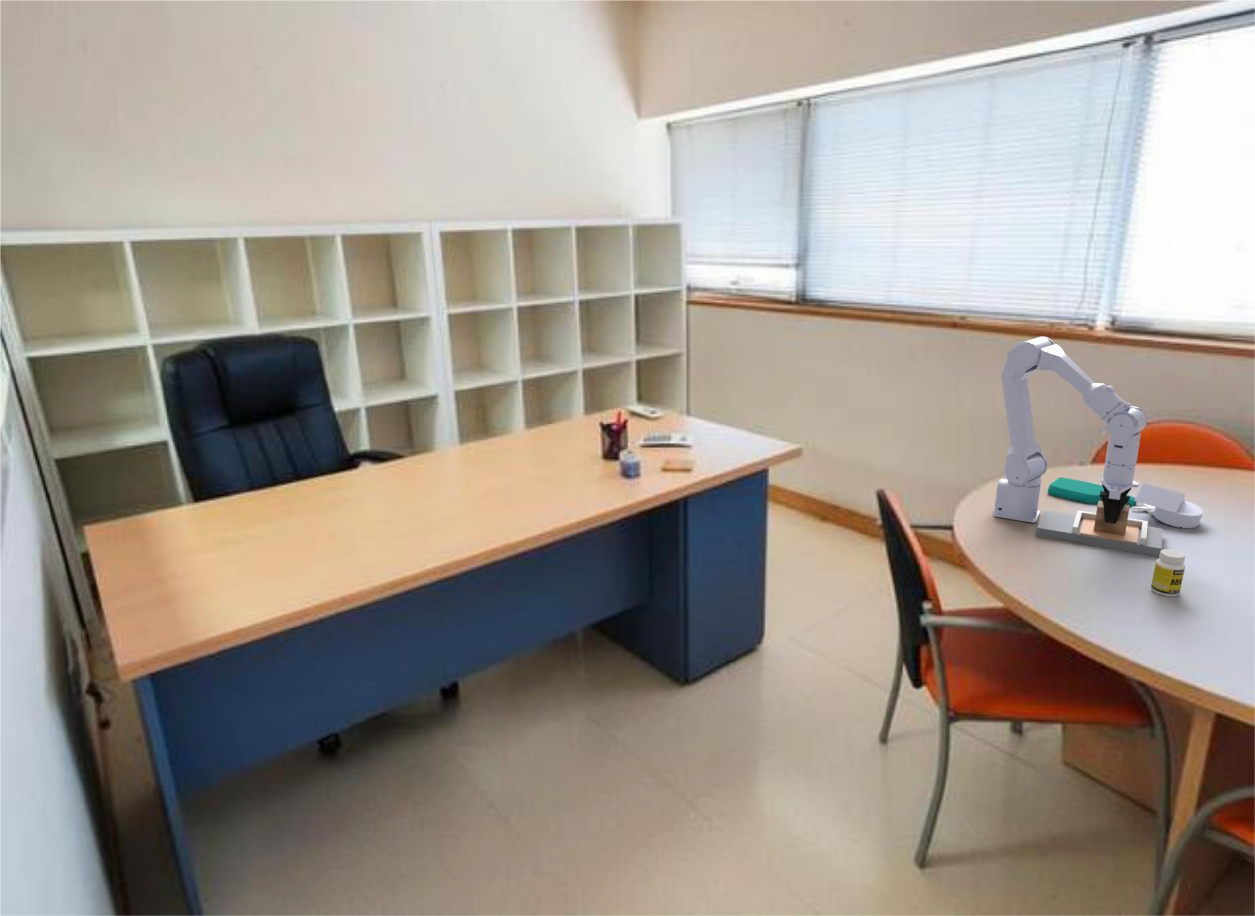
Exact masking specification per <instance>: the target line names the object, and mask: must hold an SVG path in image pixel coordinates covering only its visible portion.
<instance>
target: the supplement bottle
mask: <svg viewBox="0 0 1255 916" xmlns="http://www.w3.org/2000/svg"><path fill="white" fill-rule="evenodd" d="M1185 559H1186V555H1185V553H1183V552H1182V551H1180V550H1176V549H1170V548H1166V549H1165V548H1163V549H1162V550H1161V551H1160V555H1159V558H1157V559H1156V561H1155V563H1154V570H1153V574H1152V580H1151V583H1150V590H1151V591H1152V592H1154V593H1155V594H1158V595H1161V596H1163V597H1168V598H1169V597H1172V598H1173V597H1177V596H1179V595H1180V593H1181V589H1182V583H1183V578H1184V574H1185V570H1186V565H1185Z"/></svg>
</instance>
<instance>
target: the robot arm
mask: <svg viewBox="0 0 1255 916" xmlns="http://www.w3.org/2000/svg"><path fill="white" fill-rule="evenodd" d="M1006 355H1007V359H1006V361H1005V364H1004V366H1003V369H1002V372H1001V382H1002V383H1001V384H1002V390H1003V391H1002V392H1003V397H1004V398H1003V399H1004V406H1005V413H1006V420H1007V425H1008V434H1009V441H1010V447H1009V449H1008V451H1007V453H1006V456H1005V457H1006V464H1005V466H1004V469H1003V470H1004V471H1003V473H1004V475H1005V478H999V480H998V484H997V486H996V494H995V501H994V512H993V516H994V517H996V518H1001V519H1008V520H1015V521H1022V522H1027V523H1033V524H1036V523H1037V521H1038V519H1039V517H1040V514H1041V511H1040V510H1038V508H1039V499H1040V492H1041V485H1042V484H1041V483H1042V480H1041V478H1042V476H1043V475H1045V473H1046V472H1047V470H1048V467H1049V466H1048V461H1047V458H1046V457H1045V456H1044V455H1043V451H1042V450H1043V449H1042V447H1041V446H1040V445H1039V444H1038V443H1037V442H1036V436H1035V428H1034V427H1035V426H1034V420H1033V415H1032V413H1033V412H1032V405H1031V399H1030V398H1031V397H1030V392H1029V383H1028V378H1029V377H1030V376H1032V374H1033V373H1034V372H1035V371H1036V370H1038V371H1051V372H1054V373H1056V374H1057V375H1058V376H1059V377H1060V378H1062V379H1063V380H1064V381H1065V382H1066V383H1068V384H1069V385H1070V386H1072V387H1073V388H1074V389H1076V390H1077V392H1079V393H1081V398H1082V399H1081V400H1082V403H1083V404H1084V405H1085V406H1087V407H1088V409H1090V411H1092V412H1093V413H1095V415H1096V416H1097V417H1099V418H1100V419H1101V420H1102V421H1103V422H1105V423H1106V425H1105V426H1106V430H1107V431H1108V433H1109V440H1108V443H1107V447H1106V448H1107V449H1106V455H1105V462H1104V466H1103V467H1104V468H1103V474H1102V477H1101V480H1100V481H1101V482H1100V483H1101V485H1102V487H1103V489H1104V491H1100V497H1101V500H1102V502H1103V506H1104V519H1105V522H1107V523H1113V524H1116V522H1117V520H1118V518H1119V516H1120V513H1121V511H1122V509H1123V507H1124V506H1125V504H1126V503H1127V502H1128V501H1129V499H1130V496H1131V495H1129V493H1130V491H1131V490H1132V488H1139V485H1140V483H1139V481H1135V480H1134V478H1135V477H1134V476H1135V471H1136V465H1137V461H1138V453H1139V449H1140V441H1141V435H1142V432H1141V431H1142V430H1144V429H1145V428H1146V426H1147V423H1148V417H1147V414H1146V413H1145V412H1144V411H1143V409H1142V408H1141V407H1137V406H1134V405H1132V404H1131V403H1130V402H1129V401H1128V402H1126V401H1125V400H1124V399H1123V398H1122V397H1120V396H1119V394H1117V393H1116V392H1115V390H1116V389H1115V387H1113V386H1112V385H1111V384H1110V385H1108V384H1105V383H1096V382H1095V381H1094V380H1092V379H1091V378H1090V376H1089V375H1087V374H1086V373H1085V372H1084V371H1083V370H1082V368H1080V367H1079V365H1077V364H1076V363H1075V362H1074V361H1073V360H1072V359H1071V358H1070V357H1069V356H1068V355H1067V354H1066V353H1065V352H1064V350H1063V348H1062V347H1061V346H1060V345H1059V344H1057V343H1055V342H1054V341H1053V340H1052V339H1051V338H1049V337H1048V336H1038V337H1035V338H1031V339H1029V340H1026V341H1020V342H1018V343H1016V344H1015V345H1014V346H1013V347H1011V349H1010V350H1009V351H1007V354H1006ZM1126 495H1129V496H1126Z"/></svg>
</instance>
